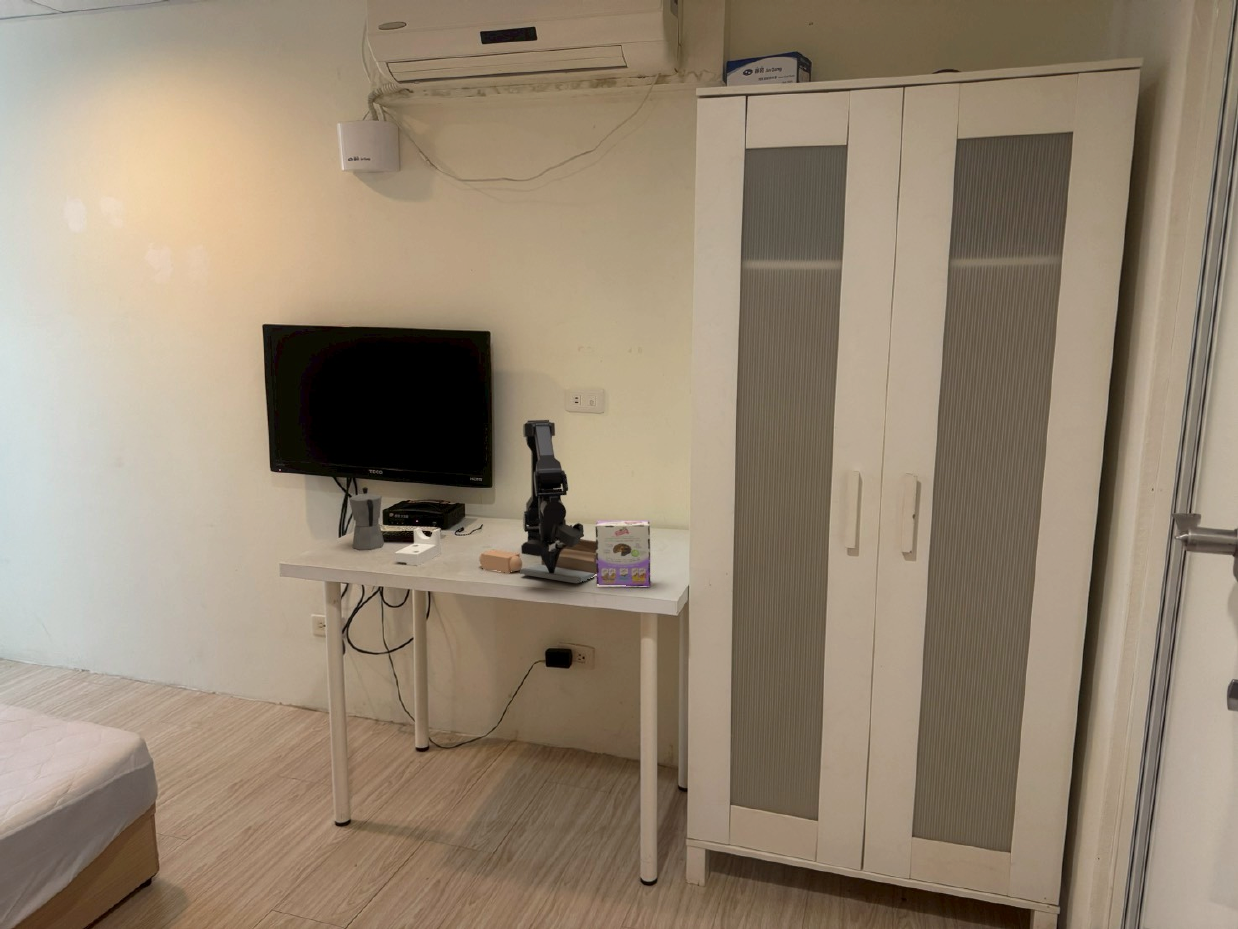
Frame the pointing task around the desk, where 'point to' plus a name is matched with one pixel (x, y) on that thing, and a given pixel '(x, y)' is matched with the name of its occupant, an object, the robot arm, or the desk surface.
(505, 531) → the desk surface
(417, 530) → the bracket
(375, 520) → the coffeepot
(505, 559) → the dome topped block
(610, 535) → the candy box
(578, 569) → the tray
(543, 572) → the panel
